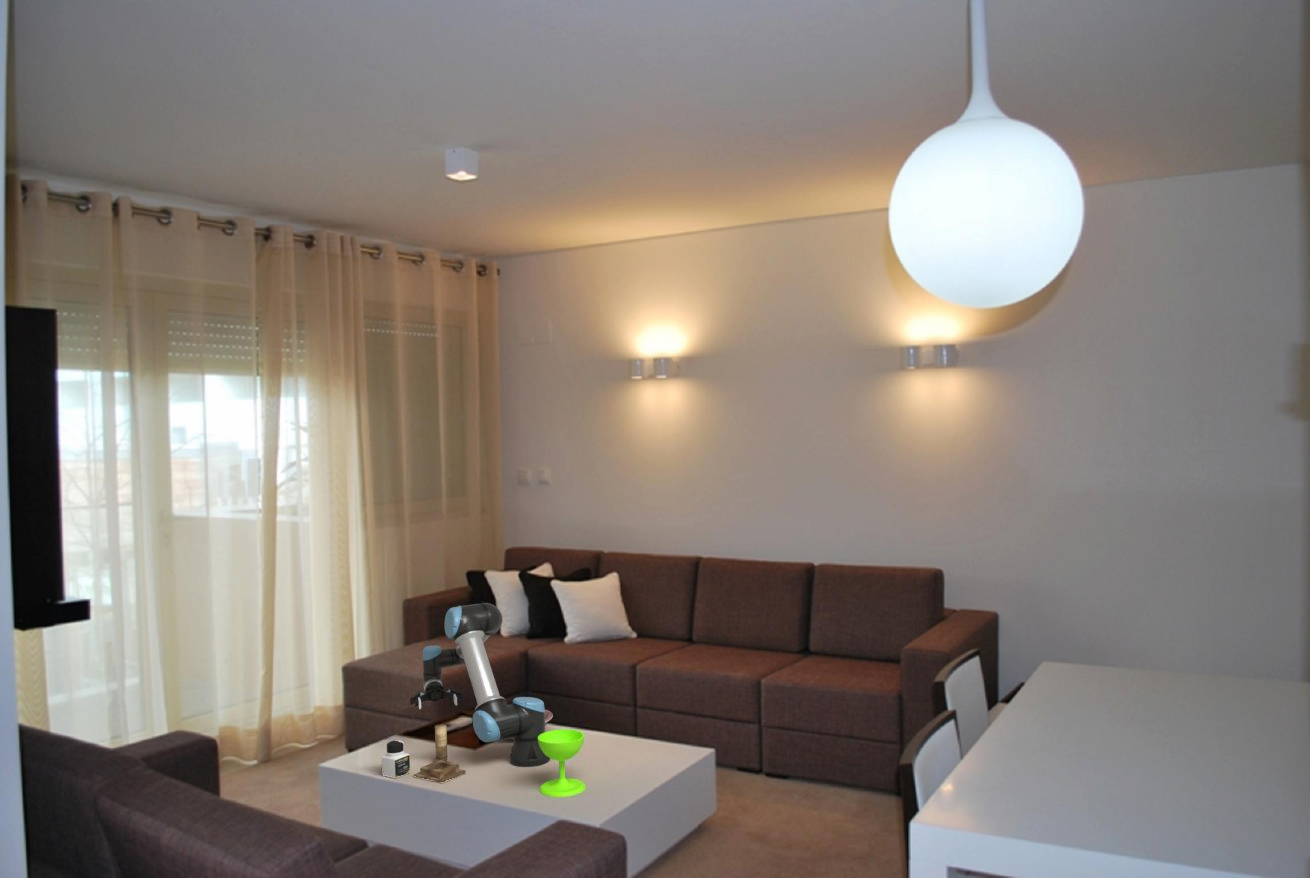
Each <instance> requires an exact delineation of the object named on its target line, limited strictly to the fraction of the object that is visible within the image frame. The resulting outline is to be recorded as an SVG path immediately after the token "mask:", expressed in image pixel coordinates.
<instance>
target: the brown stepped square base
mask: <svg viewBox="0 0 1310 878" xmlns="http://www.w3.org/2000/svg"><path fill="white" fill-rule="evenodd" d="M465 772H466V773H467V771H466V770H465V769H460V763H458V762H457V763H456V762H453V761H452V762H451V761H448V760H447V761H443V760H438V761H436V760H435V761H433V762H431V763H428V764H427V765H423V766H421V767H419V772H416V773H414V774H413V777H414V776H416V777H419V778H424V779H429V780H433V781H436V782H435V783H437V782H445V781H446V780H449V779H452V778H454V779H456V778H457V777H456V776H459V775H461V774H463V775H465V774H466V773H465ZM464 773H465V774H464ZM461 776H462V775H461ZM455 777H456V778H455ZM459 777H460V776H459ZM419 778H418V779H419ZM424 779H423V780H424ZM452 780H453V779H452ZM433 781H432V782H433ZM449 781H450V780H449ZM445 783H446V782H445Z"/></svg>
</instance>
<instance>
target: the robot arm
mask: <svg viewBox="0 0 1310 878" xmlns="http://www.w3.org/2000/svg"><path fill="white" fill-rule="evenodd" d="M502 614H503V613H502V612H501V610H500V609H499V608H498V607H497V606H496V605H494V604H492V603H489V602H481V603H475V604H474V603H473V604H467V605H466V604H465V605H457V606H453V607H450V608H449V609H448V610H447V611H446V614H445V617H444V632H445V636H446V637H447V638H448V639H450V640H451V639H452V640H453V642H454V644H455V645H456V647H451V648H444V649H442V647H441V646H440V645H427V646H425V647H424V648H423V649H422V658H421V659H422V687H423V689H424V692H422V691H417V693H416V694H414V695H412V696H411V697H409V698H410V699H409V703H410V705H411V706H412V705H414V706H415V707H418V709H419V710H421V709H422V703H423V702H429V701H430V702H432V703H433V702H438V701H440V700H446V699H447V700H451V701H453V703H454V705H455V706H458V702H459V701H462V700H463V699H464V694H463V692H461V691H459V690H455V689H454V688H449V689H448V690H447V689H446V690H445V688H444V685H443V679H442V676H443V675H442V672H443V671H442V670H443V669H444V668H449V667H456V666H462V665H463V666H464V665H465V667H466V670H467V674H468V676H469V677H468V678H469V679H470V683H471V686H472V690H473V694H474V696H475V699H476V704H477V705H476V707H475V708H474V711H475V712H474V713H473V715H472V722H473V723H472V726H473V730H474V732H475V734H476V736H477V738H479V740H480V741H482V742H484V743H493V742H498V741H501V740H505V739H506V738H510V737H514V739H513V744H512V748H511V750H510V751H511V752H510V755H509V763H510V764H511V765H513V766H516V767H536V766H541V765H544V764H547V763H548V762H550V761H551V760H552V759H551V758H549V757H548V756H546V755H545V754H544V753H543V751H542V750H541V748H540V746H539V743H538V736H539V735H540V734H542V733H545V732H546V725H545V703H544V701H543V700H541V698H537V697H531V696H519V697H515V698H513V699H512V703H510V704H508V703H507V700H506V698H505V697H503V696H501V695H500V692H499V689H498V685H497V683H496V679H495V677H494V673H493V669H492V667H491V664H490V661H489V657H488V655H487V651H486V648H485V644H484V643H485V642H486V641H487V640H488V638H490V637H491V636H494V635H495V634H497V632H499V630H500V629H501V627H502V624H503V615H502ZM506 740H507V739H506Z"/></svg>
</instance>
